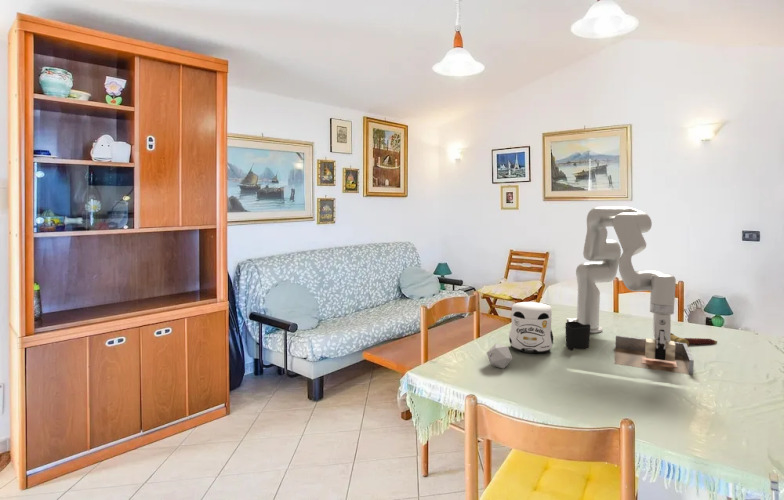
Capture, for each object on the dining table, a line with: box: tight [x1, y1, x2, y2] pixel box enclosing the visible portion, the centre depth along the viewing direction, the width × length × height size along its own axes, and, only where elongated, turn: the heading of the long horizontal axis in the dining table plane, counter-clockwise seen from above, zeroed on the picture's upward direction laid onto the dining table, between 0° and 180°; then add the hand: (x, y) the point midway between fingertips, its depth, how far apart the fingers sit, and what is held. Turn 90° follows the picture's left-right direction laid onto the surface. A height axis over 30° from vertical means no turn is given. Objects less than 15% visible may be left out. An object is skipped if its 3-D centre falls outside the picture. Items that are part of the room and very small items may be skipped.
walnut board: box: [614, 348, 693, 376], centre depth 167 cm, size 24×20×1 cm
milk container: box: [508, 301, 554, 354], centre depth 183 cm, size 17×17×18 cm
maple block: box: [645, 337, 676, 362], centre depth 163 cm, size 9×5×6 cm, turn 63°
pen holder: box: [565, 321, 591, 351], centre depth 184 cm, size 9×9×10 cm
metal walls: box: [614, 335, 695, 376], centre depth 167 cm, size 24×20×5 cm
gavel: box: [670, 332, 718, 347], centre depth 187 cm, size 21×5×10 cm
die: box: [486, 343, 513, 369], centre depth 166 cm, size 8×9×10 cm
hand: (659, 356), depth 164 cm, fingers closed on maple block, 5 cm apart
